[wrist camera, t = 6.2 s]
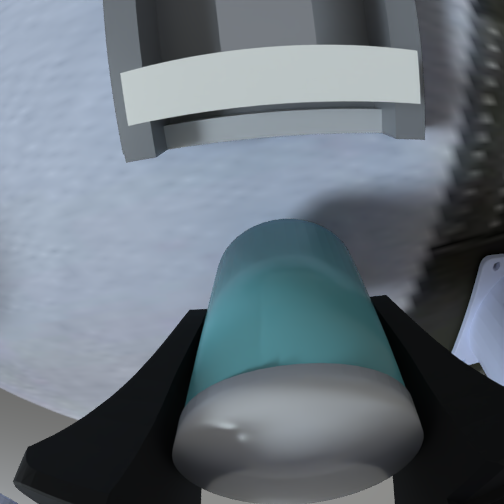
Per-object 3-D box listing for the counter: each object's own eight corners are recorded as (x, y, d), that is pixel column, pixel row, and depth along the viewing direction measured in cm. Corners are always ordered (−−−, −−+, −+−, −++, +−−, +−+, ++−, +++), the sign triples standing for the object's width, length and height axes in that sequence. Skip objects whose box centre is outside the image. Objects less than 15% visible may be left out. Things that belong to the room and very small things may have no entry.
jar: (368, 222, 10) (468, 388, 4) (341, 338, 13) (374, 497, 6) (214, 213, 10) (148, 390, 4) (216, 333, 13) (187, 497, 7)
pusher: (347, -41, 7) (387, -94, 3) (365, 96, 9) (420, 103, 6) (161, -25, 7) (111, -71, 4) (177, 111, 10) (128, 125, 6)
